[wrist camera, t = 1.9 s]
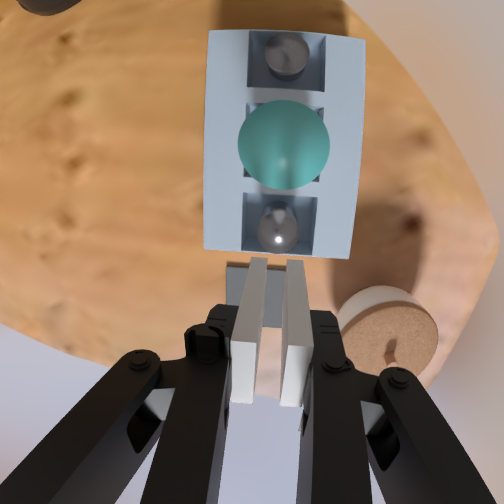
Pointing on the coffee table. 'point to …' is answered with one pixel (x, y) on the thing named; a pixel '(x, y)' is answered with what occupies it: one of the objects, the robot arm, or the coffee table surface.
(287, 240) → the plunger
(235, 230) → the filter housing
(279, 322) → the mat
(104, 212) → the coffee table surface
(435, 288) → the coffee table surface
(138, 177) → the coffee table surface
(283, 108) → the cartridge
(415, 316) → the lidded jar
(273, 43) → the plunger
